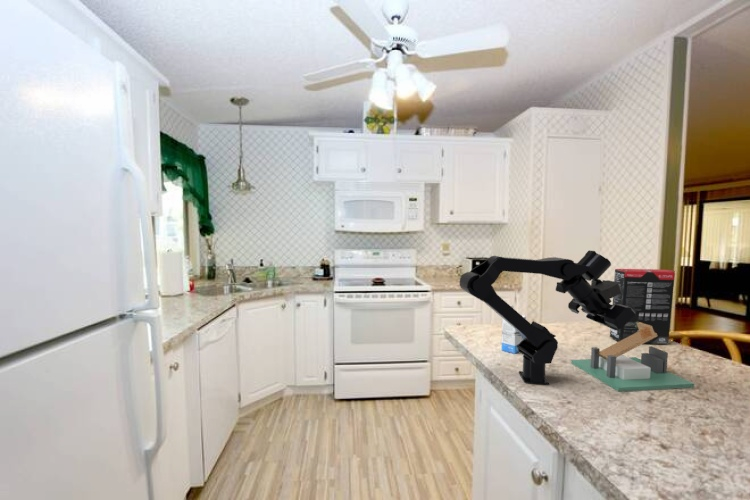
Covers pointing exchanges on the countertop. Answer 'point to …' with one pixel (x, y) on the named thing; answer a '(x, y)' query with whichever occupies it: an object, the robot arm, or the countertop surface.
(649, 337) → the strip
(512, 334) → the ink box
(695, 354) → the countertop surface
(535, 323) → the robot arm
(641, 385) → the socket board
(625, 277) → the graphics card box
